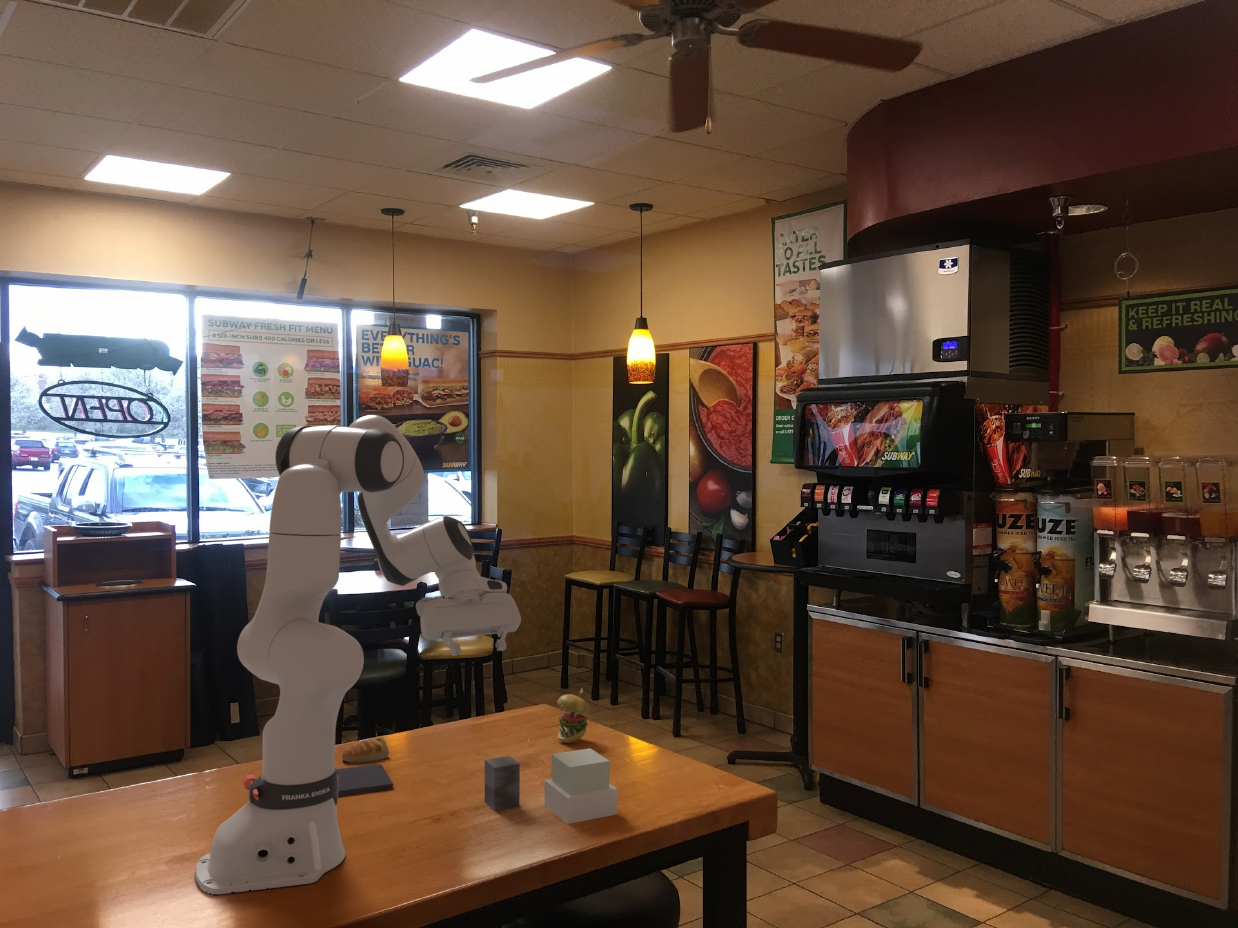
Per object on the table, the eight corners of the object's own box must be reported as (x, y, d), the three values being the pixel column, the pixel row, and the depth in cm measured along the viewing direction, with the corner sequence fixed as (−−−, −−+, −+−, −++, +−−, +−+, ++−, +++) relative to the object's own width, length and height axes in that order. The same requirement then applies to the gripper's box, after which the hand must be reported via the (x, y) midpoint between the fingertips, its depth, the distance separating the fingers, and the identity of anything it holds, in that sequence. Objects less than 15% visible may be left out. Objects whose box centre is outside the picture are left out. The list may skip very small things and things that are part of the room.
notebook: (277, 807, 181) (393, 791, 190) (277, 798, 181) (393, 783, 190) (272, 784, 193) (381, 770, 201) (272, 776, 193) (381, 763, 201)
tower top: (569, 794, 174) (569, 767, 174) (551, 780, 182) (551, 754, 181) (609, 787, 178) (609, 760, 178) (590, 774, 185) (590, 748, 185)
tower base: (567, 825, 173) (567, 797, 173) (544, 806, 182) (544, 779, 182) (616, 815, 178) (617, 788, 178) (592, 797, 187) (592, 771, 187)
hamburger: (551, 737, 222) (552, 685, 222) (581, 734, 225) (581, 682, 225) (563, 747, 215) (563, 693, 215) (593, 744, 218) (594, 690, 218)
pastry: (350, 767, 202) (349, 749, 202) (336, 759, 207) (336, 741, 207) (391, 758, 208) (391, 740, 208) (377, 750, 213) (377, 732, 213)
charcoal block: (494, 810, 179) (494, 767, 179) (484, 801, 183) (484, 759, 183) (519, 806, 181) (519, 763, 181) (509, 797, 186) (509, 755, 186)
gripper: (416, 589, 194) (431, 647, 186) (513, 582, 204) (531, 637, 195) (410, 607, 198) (425, 665, 190) (505, 599, 208) (522, 654, 199)
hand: (479, 651), depth 193 cm, fingers open, 8 cm apart
